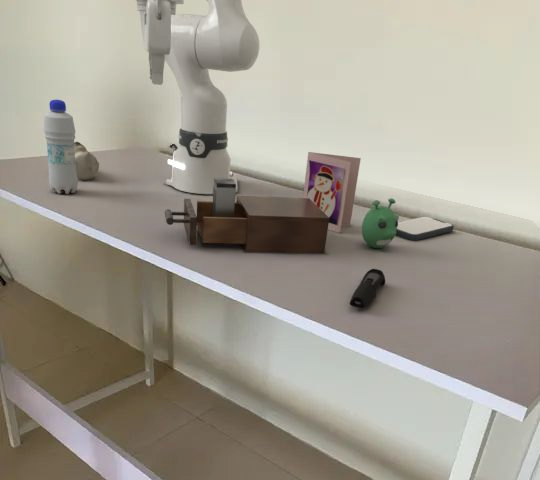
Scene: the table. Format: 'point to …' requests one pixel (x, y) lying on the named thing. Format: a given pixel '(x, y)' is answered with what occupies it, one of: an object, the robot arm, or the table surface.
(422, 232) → the phone case
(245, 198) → the cabinet
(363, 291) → the electric trimmer
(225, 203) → the grey block
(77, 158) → the ceramic sculpture
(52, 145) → the bottle
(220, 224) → the drawer
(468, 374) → the table surface
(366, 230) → the alien toy
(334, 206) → the greeting card
